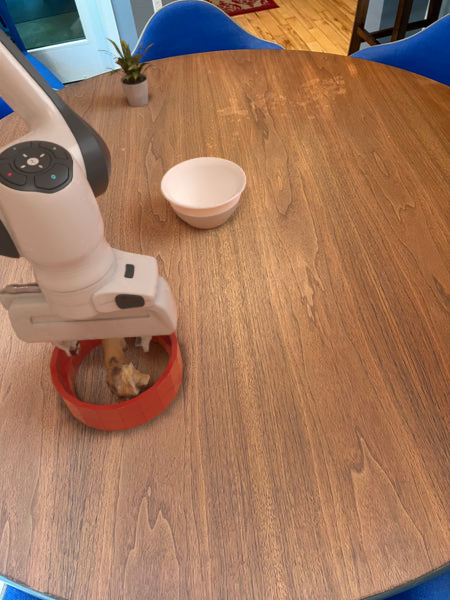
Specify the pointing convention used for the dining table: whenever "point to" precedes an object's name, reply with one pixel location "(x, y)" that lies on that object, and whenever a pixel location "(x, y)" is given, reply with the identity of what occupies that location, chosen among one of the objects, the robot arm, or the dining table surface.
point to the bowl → (204, 190)
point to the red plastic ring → (124, 412)
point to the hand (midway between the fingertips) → (109, 350)
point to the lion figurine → (121, 370)
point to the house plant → (132, 75)
